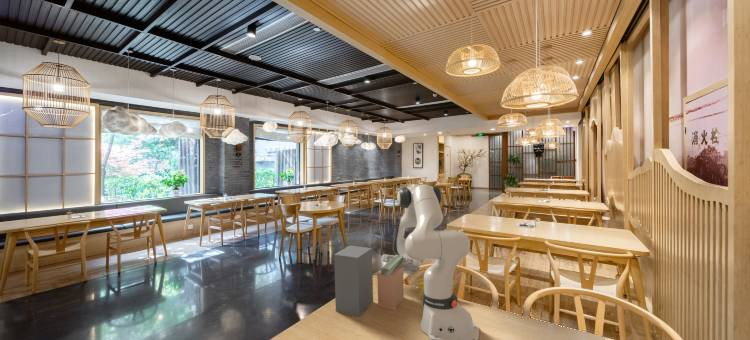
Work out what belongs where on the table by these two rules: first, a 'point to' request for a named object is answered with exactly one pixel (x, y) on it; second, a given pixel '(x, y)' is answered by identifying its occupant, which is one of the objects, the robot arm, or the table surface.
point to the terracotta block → (390, 289)
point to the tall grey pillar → (353, 280)
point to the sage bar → (391, 265)
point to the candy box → (421, 289)
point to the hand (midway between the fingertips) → (396, 257)
